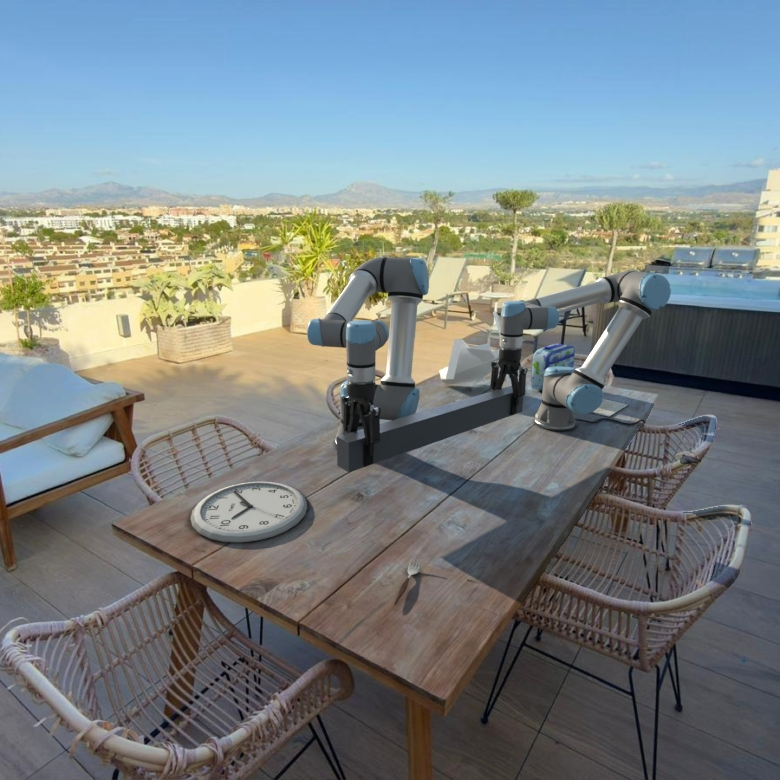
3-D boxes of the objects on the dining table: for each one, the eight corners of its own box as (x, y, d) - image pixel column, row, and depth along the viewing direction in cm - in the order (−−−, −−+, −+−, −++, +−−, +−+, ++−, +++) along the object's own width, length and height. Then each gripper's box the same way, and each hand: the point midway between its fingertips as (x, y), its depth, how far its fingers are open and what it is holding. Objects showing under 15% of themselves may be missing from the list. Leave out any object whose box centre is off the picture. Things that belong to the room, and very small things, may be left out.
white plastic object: (461, 429, 252) (437, 405, 227) (444, 352, 274) (420, 323, 250) (535, 404, 240) (518, 377, 215) (510, 326, 262) (492, 293, 237)
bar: (509, 407, 190) (511, 385, 188) (522, 411, 186) (524, 388, 184) (337, 465, 142) (336, 436, 140) (348, 472, 138) (348, 442, 136)
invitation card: (608, 416, 214) (573, 407, 224) (608, 416, 214) (573, 408, 224) (628, 404, 229) (594, 396, 238) (628, 405, 229) (594, 397, 238)
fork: (388, 605, 105) (388, 597, 104) (412, 560, 119) (412, 553, 119) (400, 609, 104) (400, 600, 104) (423, 563, 119) (423, 555, 118)
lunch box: (547, 395, 239) (552, 351, 233) (526, 390, 247) (530, 347, 240) (574, 384, 257) (579, 343, 251) (554, 380, 264) (558, 339, 258)
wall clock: (302, 534, 126) (174, 538, 123) (303, 540, 126) (175, 544, 124) (310, 477, 154) (206, 479, 152) (310, 482, 155) (206, 484, 152)
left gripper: (328, 375, 141) (330, 453, 148) (372, 391, 128) (372, 477, 135) (350, 370, 146) (351, 446, 153) (395, 386, 133) (393, 468, 140)
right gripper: (481, 344, 181) (478, 407, 188) (527, 354, 168) (522, 421, 175) (494, 341, 186) (490, 403, 193) (540, 350, 173) (534, 416, 180)
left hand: (361, 460), depth 144 cm, fingers closed on bar, 5 cm apart
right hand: (505, 411), depth 184 cm, fingers closed on bar, 5 cm apart
